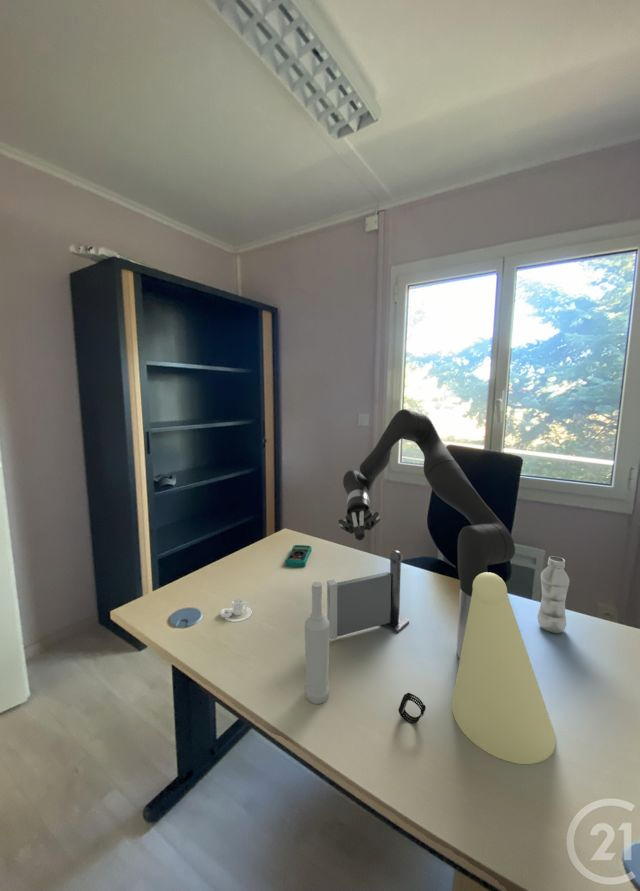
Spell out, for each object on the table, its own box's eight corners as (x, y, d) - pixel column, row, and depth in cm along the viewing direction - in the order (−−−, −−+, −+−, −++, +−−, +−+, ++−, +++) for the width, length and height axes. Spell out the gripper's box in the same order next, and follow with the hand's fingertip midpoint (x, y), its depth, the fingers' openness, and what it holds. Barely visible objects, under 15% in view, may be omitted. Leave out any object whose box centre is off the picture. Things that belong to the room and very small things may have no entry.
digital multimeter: (284, 567, 137) (284, 560, 137) (293, 550, 152) (293, 543, 152) (304, 569, 136) (304, 561, 136) (311, 551, 151) (311, 544, 151)
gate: (386, 618, 103) (387, 568, 101) (390, 623, 101) (392, 572, 99) (327, 634, 96) (327, 580, 94) (330, 639, 94) (330, 585, 92)
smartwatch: (407, 707, 75) (407, 684, 75) (427, 724, 71) (428, 701, 70) (393, 717, 73) (393, 694, 72) (414, 736, 69) (414, 712, 68)
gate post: (409, 623, 103) (411, 550, 100) (397, 633, 99) (399, 557, 96) (390, 614, 107) (392, 544, 104) (378, 623, 103) (380, 550, 100)
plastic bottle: (571, 636, 97) (578, 564, 94) (545, 636, 97) (551, 564, 94) (556, 621, 103) (562, 553, 101) (531, 621, 103) (537, 553, 101)
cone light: (471, 669, 85) (479, 524, 81) (564, 715, 73) (581, 547, 68) (420, 742, 67) (427, 561, 63) (533, 819, 55) (552, 601, 50)
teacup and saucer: (216, 620, 105) (215, 607, 104) (229, 605, 113) (229, 592, 112) (244, 625, 103) (244, 611, 102) (256, 609, 111) (255, 596, 110)
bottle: (315, 681, 82) (315, 575, 79) (334, 693, 79) (334, 583, 75) (300, 696, 78) (298, 585, 75) (318, 709, 75) (318, 593, 71)
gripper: (335, 500, 119) (333, 531, 103) (376, 491, 116) (380, 521, 100) (341, 519, 121) (340, 552, 105) (381, 511, 119) (386, 544, 103)
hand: (360, 537), depth 103 cm, fingers closed
